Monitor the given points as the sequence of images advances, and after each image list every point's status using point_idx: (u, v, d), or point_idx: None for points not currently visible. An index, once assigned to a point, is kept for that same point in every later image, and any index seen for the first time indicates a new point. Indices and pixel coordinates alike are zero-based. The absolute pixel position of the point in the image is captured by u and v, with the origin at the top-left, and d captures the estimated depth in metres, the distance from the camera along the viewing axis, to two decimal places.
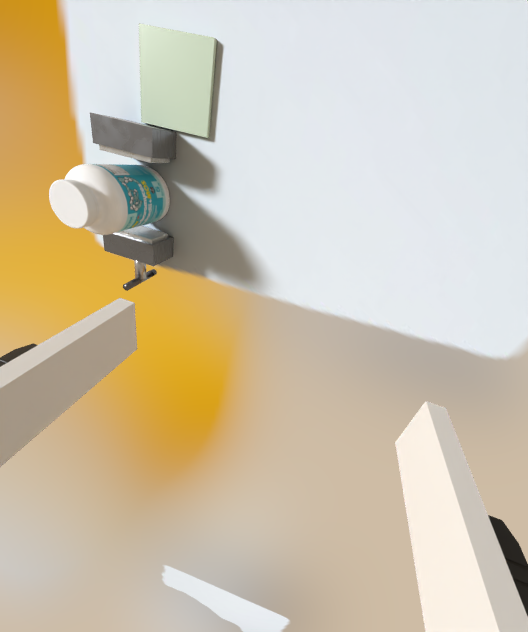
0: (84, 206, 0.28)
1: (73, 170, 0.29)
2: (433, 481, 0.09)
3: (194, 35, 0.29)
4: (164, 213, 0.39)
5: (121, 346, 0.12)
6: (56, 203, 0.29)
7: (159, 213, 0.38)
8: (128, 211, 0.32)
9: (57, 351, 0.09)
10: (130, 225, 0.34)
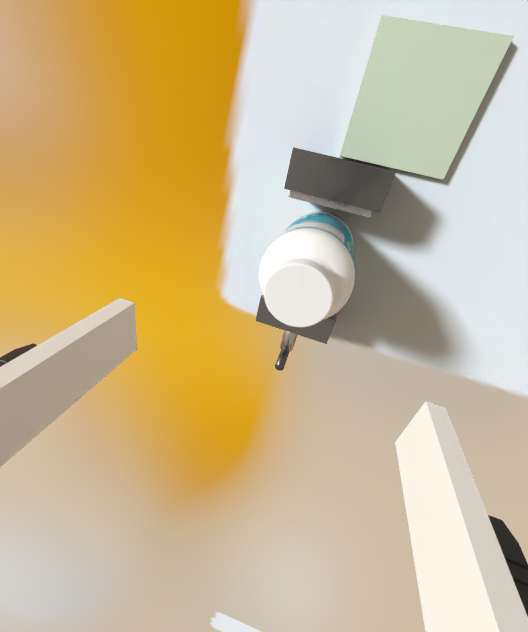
0: (328, 302, 0.18)
1: (294, 240, 0.19)
2: (433, 481, 0.09)
3: (477, 32, 0.19)
4: None
5: (121, 346, 0.12)
6: (275, 294, 0.19)
7: None
8: None
9: (57, 351, 0.09)
10: None
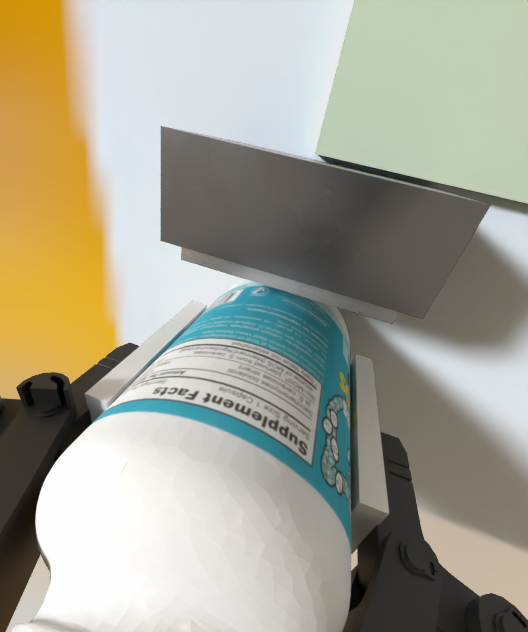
0: None
1: (92, 506, 0.05)
2: None
3: None
4: None
5: None
6: None
7: None
8: None
9: (159, 349, 0.10)
10: None
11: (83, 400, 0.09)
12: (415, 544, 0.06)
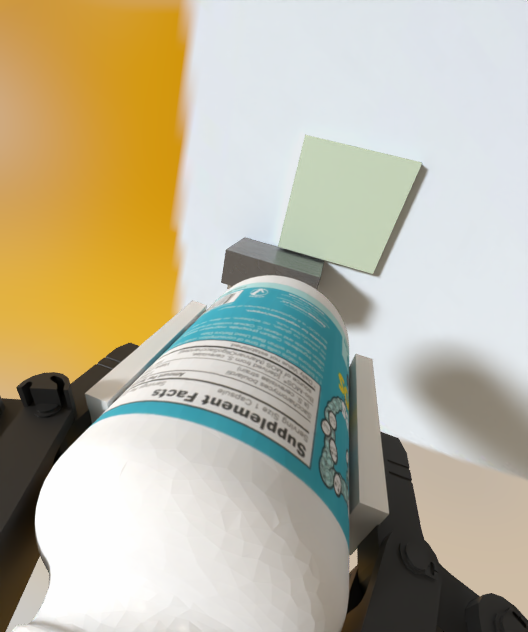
0: None
1: (91, 508, 0.05)
2: (349, 412, 0.11)
3: (390, 156, 0.21)
4: None
5: None
6: None
7: None
8: None
9: (159, 349, 0.10)
10: None
11: (83, 400, 0.09)
12: (415, 544, 0.06)
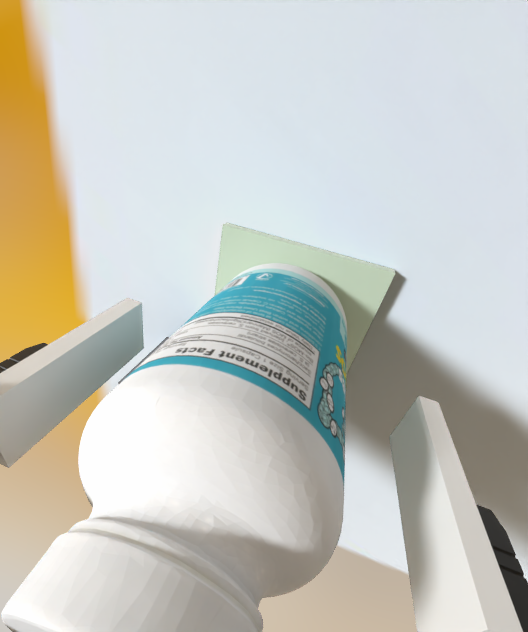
0: None
1: (133, 430, 0.06)
2: (424, 473, 0.09)
3: (347, 262, 0.14)
4: None
5: (128, 345, 0.13)
6: None
7: None
8: None
9: (68, 350, 0.09)
10: None
11: None
12: None
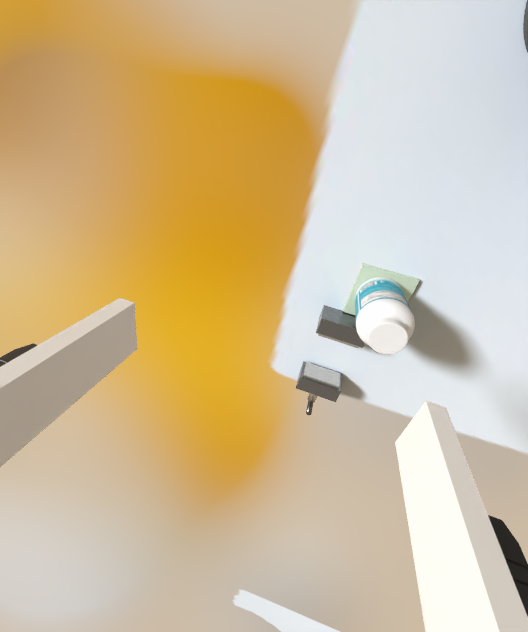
0: (405, 341, 0.34)
1: (383, 307, 0.35)
2: (433, 481, 0.09)
3: (404, 276, 0.43)
4: None
5: (121, 346, 0.12)
6: (375, 337, 0.35)
7: None
8: None
9: (57, 351, 0.09)
10: None
11: None
12: None
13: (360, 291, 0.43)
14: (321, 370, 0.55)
